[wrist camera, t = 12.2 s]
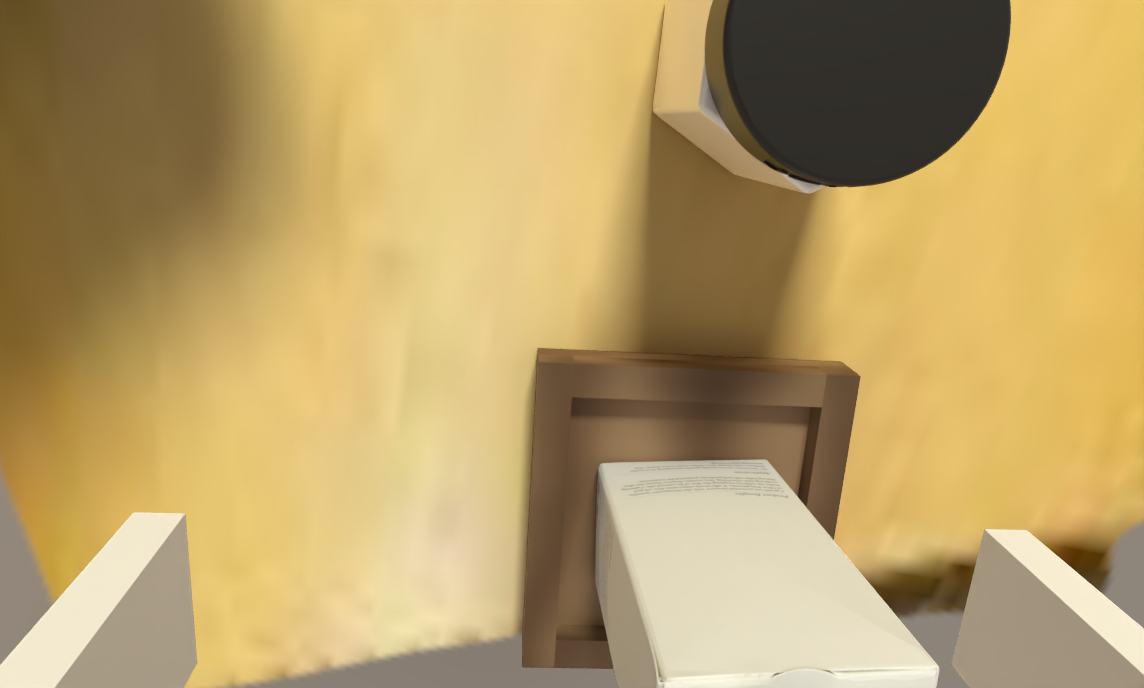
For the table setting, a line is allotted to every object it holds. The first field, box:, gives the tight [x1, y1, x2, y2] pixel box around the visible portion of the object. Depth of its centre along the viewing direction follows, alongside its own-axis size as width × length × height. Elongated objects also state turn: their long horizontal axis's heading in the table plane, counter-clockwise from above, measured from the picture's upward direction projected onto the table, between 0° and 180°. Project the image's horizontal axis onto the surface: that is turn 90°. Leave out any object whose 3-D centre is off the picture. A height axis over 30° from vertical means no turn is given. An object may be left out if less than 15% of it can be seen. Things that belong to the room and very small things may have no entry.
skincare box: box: [595, 459, 939, 688], centre depth 30 cm, size 8×7×16 cm
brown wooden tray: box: [522, 348, 860, 669], centre depth 38 cm, size 14×15×2 cm
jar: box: [653, 0, 1011, 194], centre depth 28 cm, size 9×8×12 cm
